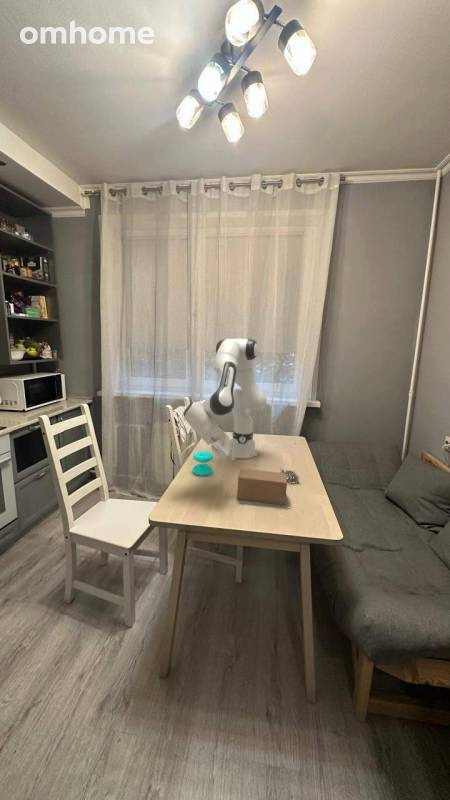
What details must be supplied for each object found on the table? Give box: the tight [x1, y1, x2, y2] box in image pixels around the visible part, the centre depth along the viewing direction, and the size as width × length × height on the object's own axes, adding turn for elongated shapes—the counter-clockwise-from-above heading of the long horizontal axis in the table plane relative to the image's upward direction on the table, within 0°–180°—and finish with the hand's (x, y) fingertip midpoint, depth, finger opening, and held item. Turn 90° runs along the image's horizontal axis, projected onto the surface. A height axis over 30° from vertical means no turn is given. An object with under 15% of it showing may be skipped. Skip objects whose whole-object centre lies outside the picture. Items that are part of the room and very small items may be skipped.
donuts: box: [192, 450, 214, 477], centre depth 155 cm, size 10×10×10 cm
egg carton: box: [279, 468, 300, 484], centre depth 153 cm, size 11×8×4 cm
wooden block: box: [236, 468, 288, 505], centre depth 132 cm, size 10×10×20 cm
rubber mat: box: [240, 493, 291, 508], centre depth 133 cm, size 14×20×1 cm
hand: (234, 458), depth 132 cm, fingers closed
